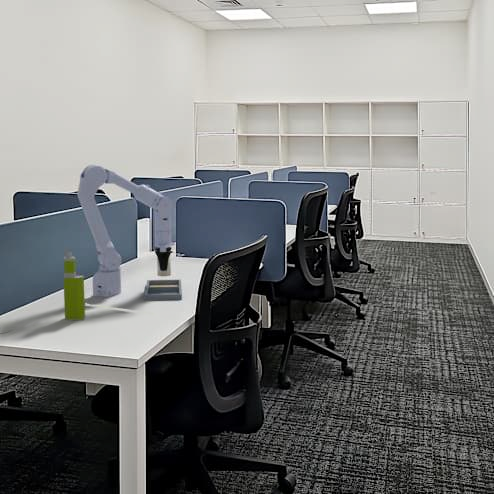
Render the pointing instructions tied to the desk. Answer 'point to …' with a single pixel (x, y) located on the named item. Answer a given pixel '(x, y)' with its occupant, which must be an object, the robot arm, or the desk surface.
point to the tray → (163, 290)
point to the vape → (73, 290)
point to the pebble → (164, 273)
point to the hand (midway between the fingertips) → (163, 269)
